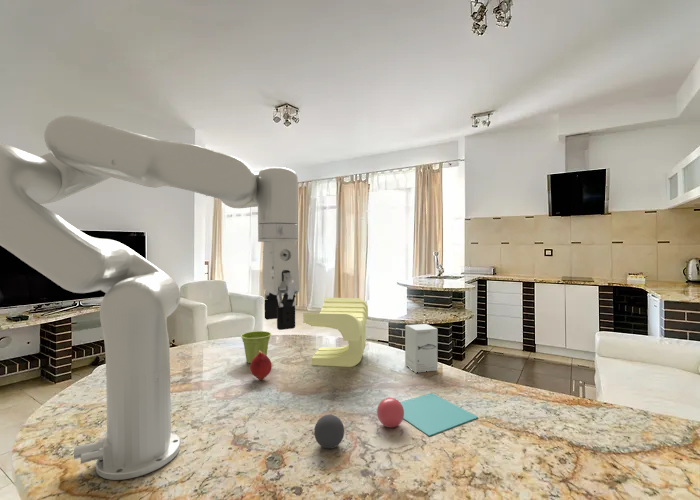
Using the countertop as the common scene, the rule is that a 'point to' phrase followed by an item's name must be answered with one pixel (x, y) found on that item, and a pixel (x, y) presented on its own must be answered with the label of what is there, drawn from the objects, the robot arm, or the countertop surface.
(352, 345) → the slatted curved stool
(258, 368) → the onion
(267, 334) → the plant pot
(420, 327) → the supplement box
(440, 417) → the teal mark
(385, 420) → the red ball
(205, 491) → the countertop surface
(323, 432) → the dark gray ball
